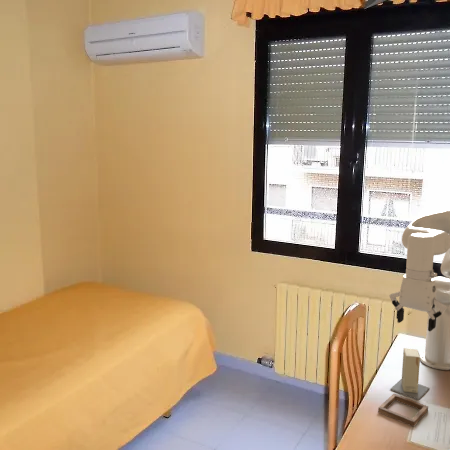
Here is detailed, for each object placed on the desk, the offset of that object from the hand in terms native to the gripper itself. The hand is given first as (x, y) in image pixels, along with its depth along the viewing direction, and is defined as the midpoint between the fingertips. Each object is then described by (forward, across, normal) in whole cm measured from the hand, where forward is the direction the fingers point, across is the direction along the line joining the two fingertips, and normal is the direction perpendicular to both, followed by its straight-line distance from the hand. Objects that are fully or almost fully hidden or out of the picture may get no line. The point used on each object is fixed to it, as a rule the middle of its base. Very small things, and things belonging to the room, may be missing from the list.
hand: (415, 325), depth 150 cm
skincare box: (+22, 0, +1) cm, 22 cm away
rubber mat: (+22, 0, +1) cm, 22 cm away
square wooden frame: (+22, -4, +14) cm, 26 cm away
